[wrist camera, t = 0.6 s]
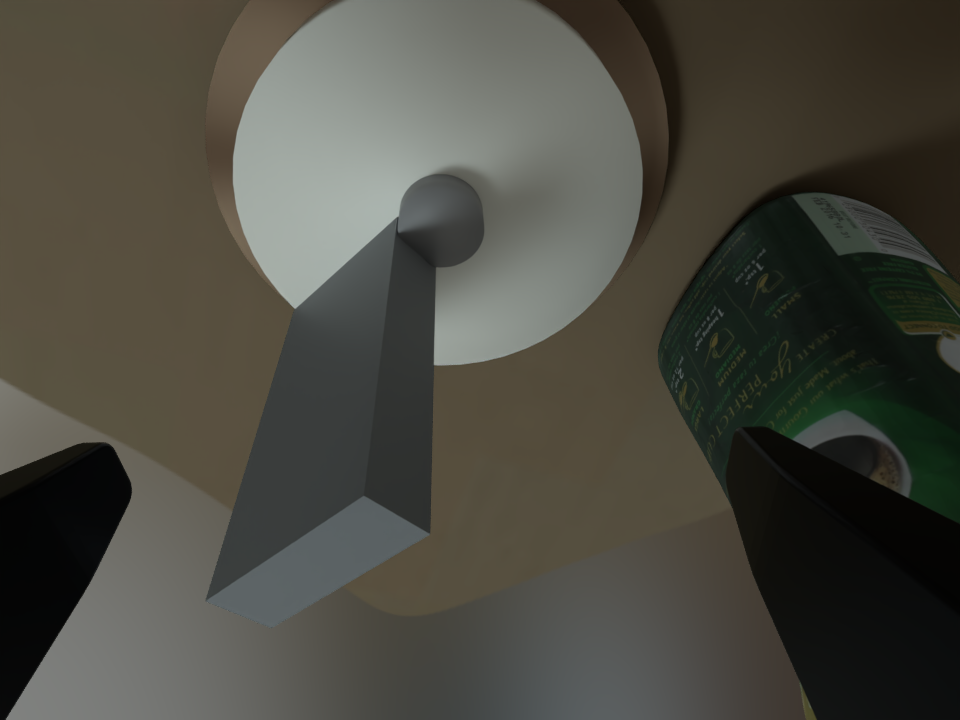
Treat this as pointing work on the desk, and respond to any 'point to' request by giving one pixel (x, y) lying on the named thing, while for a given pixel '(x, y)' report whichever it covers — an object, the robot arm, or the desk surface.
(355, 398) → the dial
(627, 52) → the dial base
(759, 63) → the desk surface
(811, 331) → the coffee jar
